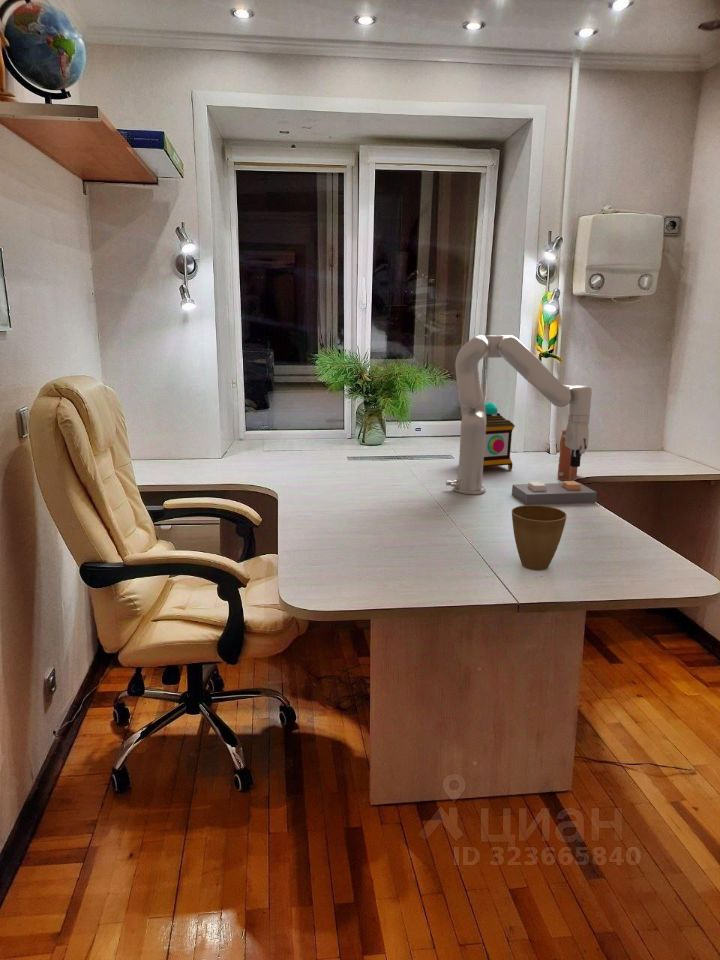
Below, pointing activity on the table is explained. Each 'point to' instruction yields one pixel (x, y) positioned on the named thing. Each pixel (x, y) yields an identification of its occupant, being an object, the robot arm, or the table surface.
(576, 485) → the orange key
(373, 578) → the table surface
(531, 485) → the ivory key
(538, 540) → the plant pot
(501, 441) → the decorative lantern
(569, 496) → the keypad housing
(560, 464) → the orange box
